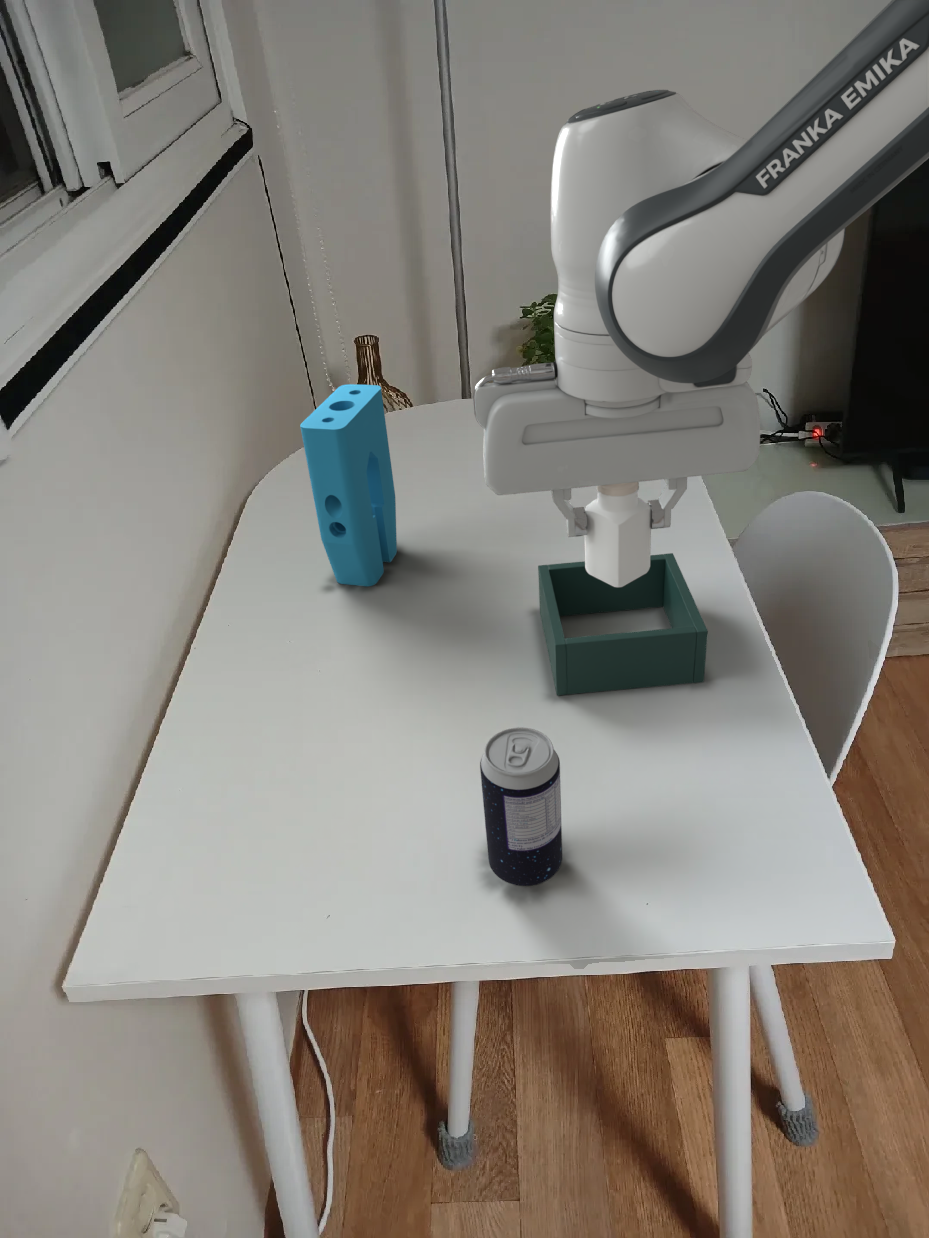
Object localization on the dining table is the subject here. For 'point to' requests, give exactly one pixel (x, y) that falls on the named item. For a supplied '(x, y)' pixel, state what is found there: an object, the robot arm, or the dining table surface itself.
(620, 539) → the salt shaker
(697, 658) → the bin
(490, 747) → the beverage can
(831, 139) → the robot arm
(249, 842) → the dining table surface
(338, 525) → the block
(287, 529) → the dining table surface
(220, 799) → the dining table surface
